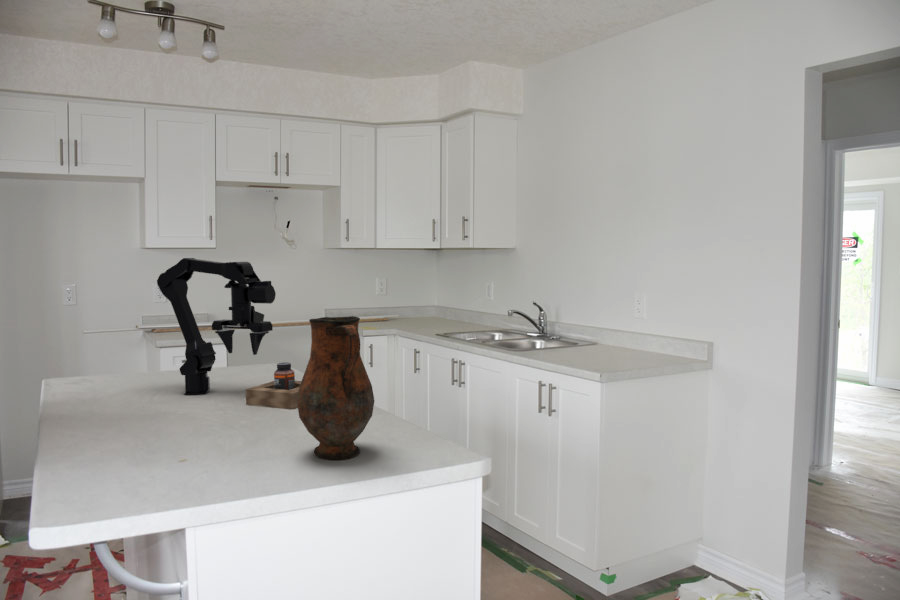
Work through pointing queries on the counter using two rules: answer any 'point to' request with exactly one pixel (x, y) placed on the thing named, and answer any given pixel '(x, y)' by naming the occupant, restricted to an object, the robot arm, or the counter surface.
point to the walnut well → (273, 396)
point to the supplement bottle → (284, 377)
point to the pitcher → (335, 388)
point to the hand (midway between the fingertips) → (242, 353)
